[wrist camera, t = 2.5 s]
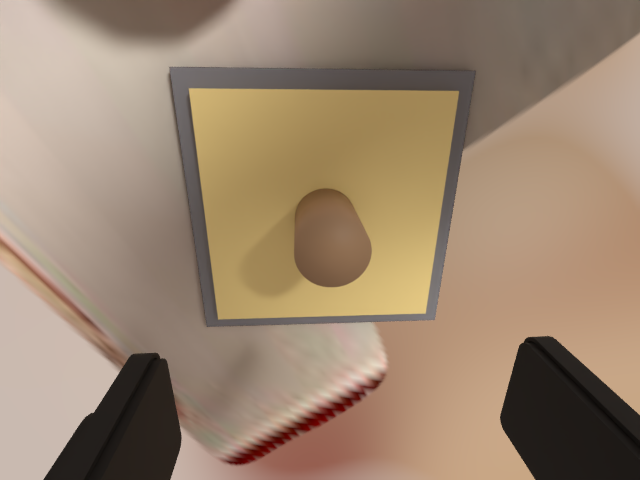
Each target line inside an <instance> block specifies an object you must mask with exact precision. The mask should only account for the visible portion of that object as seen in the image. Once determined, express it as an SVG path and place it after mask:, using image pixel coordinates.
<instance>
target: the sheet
mask: <svg viewBox="0 0 640 480" xmlns="http://www.w3.org/2000/svg"><path fill="white" fill-rule="evenodd" d="M189 94H190V102H191V110H192V118H193V126H194V133H195V141H196V149H197V157H198V165H199V173H200V181H201V188H202V196H203V204H204V212H205V220H206V228H207V236H208V244H209V251H210V259H211V267H212V275H213V283H214V291H215V299H216V306H217V314H218V319H250V318H285V317H320V316H356V315H391V314H426V308H427V301H428V295H429V288H430V281H431V275H432V268H433V262H434V255H435V248H436V242H437V235H438V228H439V222H440V215H441V208H442V202H443V195H444V189H445V182H446V175H447V169H448V162H449V155H450V149H451V142H452V136H453V129H454V122H455V116H456V109H457V102H458V96H459V91H411V90H308V89H205V88H189Z"/></svg>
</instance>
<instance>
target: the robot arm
mask: <svg viewBox="0 0 640 480" xmlns="http://www.w3.org/2000/svg"><path fill="white" fill-rule="evenodd" d="M500 420H501V425H502V428H503V430H504V431H505V433H506V435H507V436H508V438H509V439H510V441H511V442H512V444H513V445H514V447H515V449H516V450H517V452H518V453H519V455H520V456H521V458H522V459H523V461H524V462H525V464H526V465H527V467H528V469H529V470H530V472H531V473H532V475H533V476H534V478H535V480H640V415H639V414H638V413H637V412H635V411H634V410H633V409H632V408H631V407H630V406H629V405H628V404H627V403H625V402H624V401H623V400H622V399H621V398H620V397H619V396H618V395H617V394H616V393H614V392H613V391H612V390H611V389H610V388H609V387H608V386H607V385H606V384H604V383H603V382H602V381H601V380H600V379H599V378H598V377H597V376H596V375H595V374H593V373H592V372H591V371H590V370H589V369H588V368H587V367H586V366H585V365H584V364H582V363H581V362H580V361H579V360H578V359H577V358H576V357H574V356H573V355H572V354H571V353H570V352H569V351H568V350H567V349H566V348H565V347H564V346H562V345H561V344H560V343H559V342H558V341H557V340H556V339H554V338H553V337H549V336H545V337H528V338H526V339H525V341H524V343H522V344H520V346H519V349H518V352H517V356H516V360H515V363H514V367H513V371H512V375H511V378H510V382H509V385H508V389H507V393H506V396H505V400H504V404H503V408H502V411H501V416H500ZM180 446H181V431H180V425H179V420H178V415H177V410H176V405H175V400H174V395H173V390H172V385H171V380H170V375H169V369H168V364H167V361H166V359H160V356H159V355H158V353H144V354H133V355H131V356H130V357H129V359H128V360H127V362H126V363H125V365H124V366H123V368H122V370H121V371H120V373H119V374H118V376H117V378H116V379H115V381H114V382H113V384H112V385H111V387H110V389H109V390H108V392H107V393H106V395H105V396H104V398H103V400H102V401H101V403H100V404H99V406H98V407H97V409H96V410H95V412H94V413H91V414H89V415H88V416H86V417H85V419H84V420H83V421H82V422H81V424H80V425H79V427H78V428H77V430H76V431H75V433H74V434H73V436H72V437H71V439H70V440H69V442H68V443H67V445H66V446H65V448H64V449H63V451H62V452H61V454H60V455H59V457H58V458H57V460H56V461H55V463H54V465H53V466H52V468H51V469H50V471H49V472H48V474H47V475H46V477H45V478H44V480H170V479H171V475H172V472H173V469H174V466H175V463H176V460H177V457H178V454H179V451H180Z"/></svg>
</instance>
